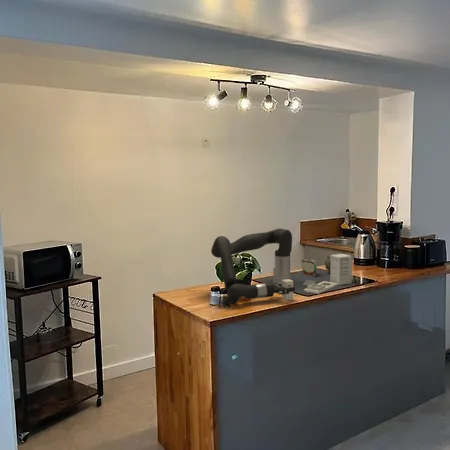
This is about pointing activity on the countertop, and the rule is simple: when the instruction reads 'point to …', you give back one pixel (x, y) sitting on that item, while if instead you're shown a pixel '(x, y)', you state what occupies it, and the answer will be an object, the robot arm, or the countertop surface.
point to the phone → (308, 283)
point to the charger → (287, 284)
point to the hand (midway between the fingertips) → (290, 287)
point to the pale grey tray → (320, 287)
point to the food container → (309, 267)
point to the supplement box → (341, 269)
